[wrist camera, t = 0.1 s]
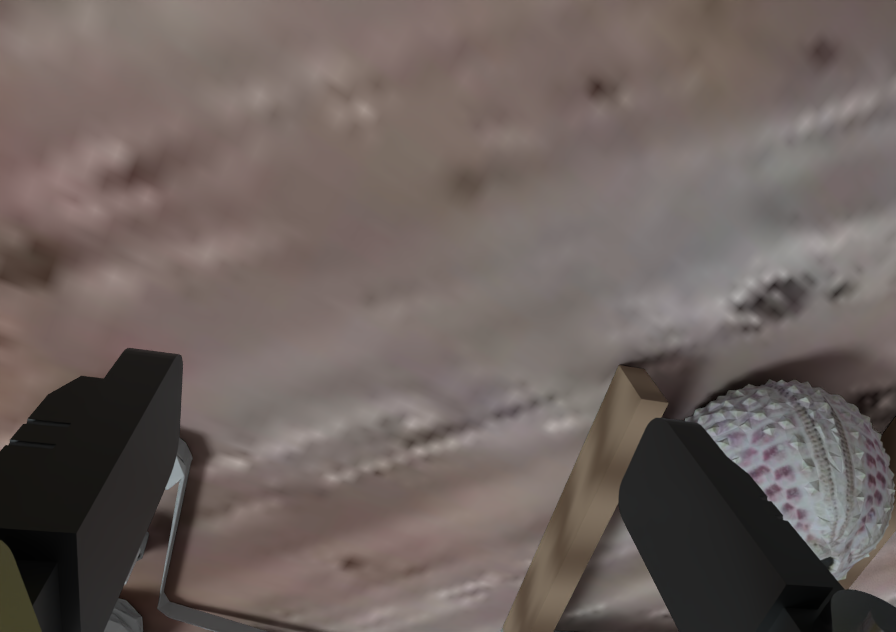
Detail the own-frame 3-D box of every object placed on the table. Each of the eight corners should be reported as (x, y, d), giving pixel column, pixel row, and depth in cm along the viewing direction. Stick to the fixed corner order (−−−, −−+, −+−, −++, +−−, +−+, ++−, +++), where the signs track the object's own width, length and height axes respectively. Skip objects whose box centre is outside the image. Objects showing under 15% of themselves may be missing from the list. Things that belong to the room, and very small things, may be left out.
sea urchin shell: (823, 321, 32) (951, 414, 25) (861, 477, 38) (971, 587, 31) (597, 430, 34) (656, 545, 27) (669, 562, 40) (732, 683, 33)
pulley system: (185, 724, 44) (372, 674, 42) (161, 799, 40) (366, 748, 38) (-92, 462, 32) (154, 376, 30) (-169, 532, 28) (111, 436, 26)
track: (618, 365, 31) (668, 440, 26) (921, 412, 36) (1015, 485, 30) (490, 654, 43) (507, 747, 37) (732, 664, 47) (778, 749, 41)
